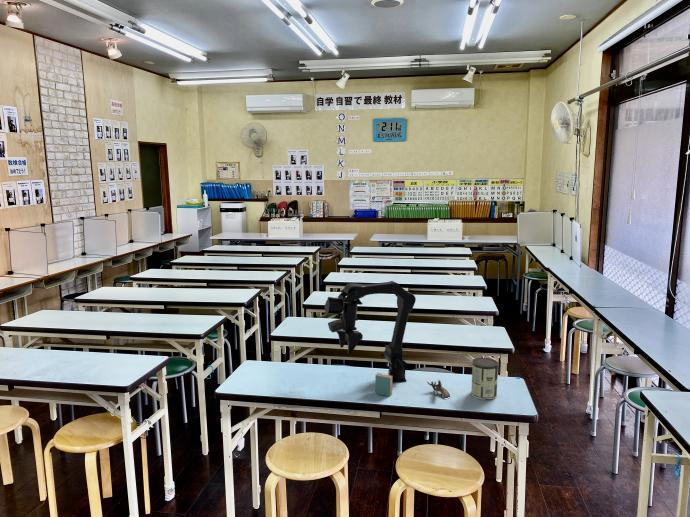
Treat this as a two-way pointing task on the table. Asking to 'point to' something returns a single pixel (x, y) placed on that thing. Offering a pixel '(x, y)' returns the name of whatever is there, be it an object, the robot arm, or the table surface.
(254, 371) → the table surface
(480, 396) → the coffee can
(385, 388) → the glazed tile
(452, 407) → the table surface
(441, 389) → the antlered deer figurine
